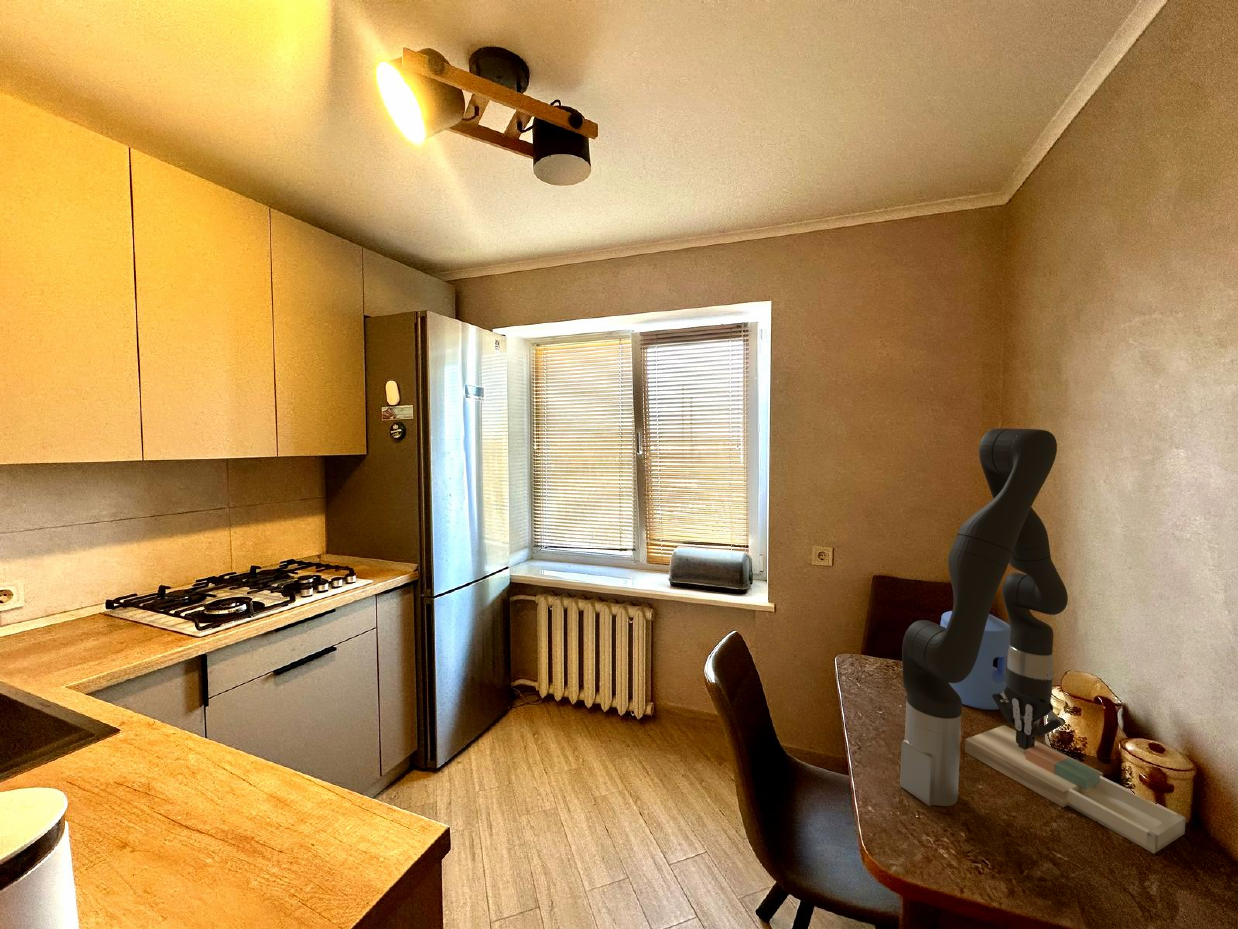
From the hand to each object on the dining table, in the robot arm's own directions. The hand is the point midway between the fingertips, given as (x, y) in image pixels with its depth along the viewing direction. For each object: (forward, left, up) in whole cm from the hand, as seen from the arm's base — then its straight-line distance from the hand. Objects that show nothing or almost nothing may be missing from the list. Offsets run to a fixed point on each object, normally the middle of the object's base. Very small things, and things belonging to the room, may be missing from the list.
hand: (1024, 748), depth 106 cm
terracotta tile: (0, -4, -1) cm, 4 cm away
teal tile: (0, -9, -1) cm, 9 cm away
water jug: (+20, +23, -4) cm, 31 cm away
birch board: (0, -1, -4) cm, 4 cm away
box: (0, -16, -4) cm, 17 cm away
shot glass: (+16, +1, -4) cm, 16 cm away
